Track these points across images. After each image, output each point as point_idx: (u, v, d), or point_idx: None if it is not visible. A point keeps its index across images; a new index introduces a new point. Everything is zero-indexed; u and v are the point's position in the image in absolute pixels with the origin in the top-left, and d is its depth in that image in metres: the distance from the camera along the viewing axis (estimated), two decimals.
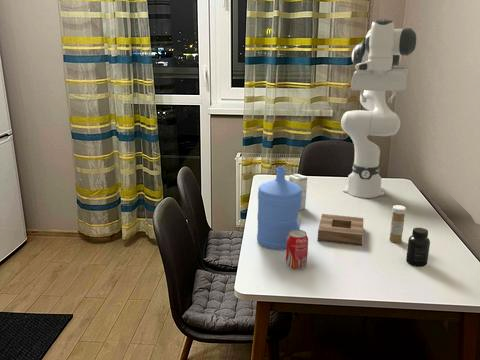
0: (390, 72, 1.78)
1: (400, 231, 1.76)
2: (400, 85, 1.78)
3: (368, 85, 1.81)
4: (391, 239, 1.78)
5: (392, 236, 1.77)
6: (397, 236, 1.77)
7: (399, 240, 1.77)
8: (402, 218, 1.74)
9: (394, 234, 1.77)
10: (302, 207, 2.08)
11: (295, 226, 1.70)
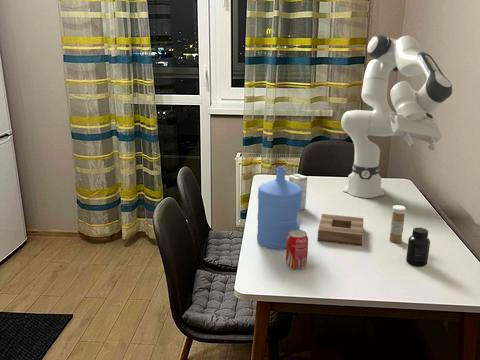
0: None
1: (400, 231, 1.76)
2: None
3: None
4: (391, 239, 1.78)
5: (392, 236, 1.77)
6: (397, 236, 1.77)
7: (399, 240, 1.77)
8: (402, 218, 1.74)
9: (394, 234, 1.77)
10: (302, 207, 2.08)
11: (295, 226, 1.70)
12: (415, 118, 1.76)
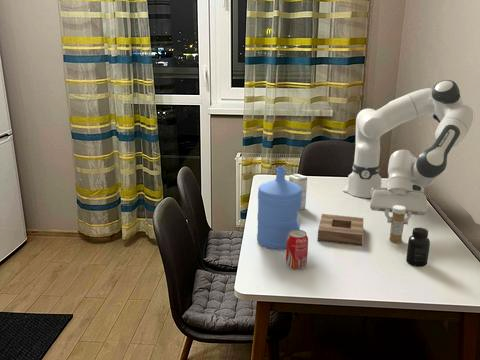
0: None
1: (400, 231, 1.76)
2: None
3: None
4: (391, 239, 1.78)
5: (392, 236, 1.77)
6: (398, 236, 1.77)
7: (399, 240, 1.77)
8: (402, 218, 1.74)
9: (394, 234, 1.77)
10: (302, 207, 2.08)
11: (295, 226, 1.70)
12: (395, 192, 1.79)
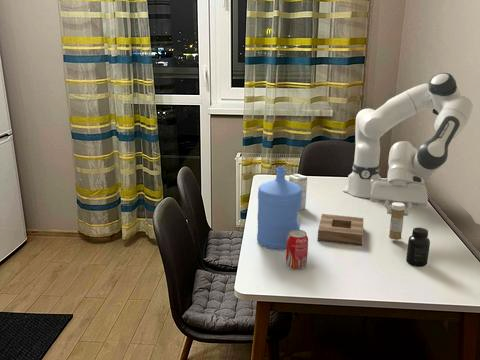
0: None
1: (399, 228, 1.75)
2: None
3: None
4: (390, 236, 1.78)
5: (391, 233, 1.77)
6: (397, 233, 1.76)
7: (398, 237, 1.77)
8: (401, 215, 1.74)
9: (393, 231, 1.76)
10: (302, 207, 2.08)
11: (295, 226, 1.70)
12: (395, 184, 1.78)
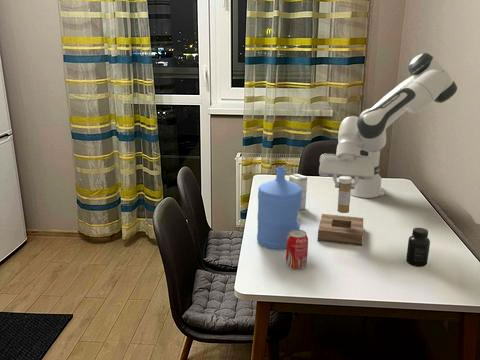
0: None
1: (346, 201, 1.77)
2: None
3: None
4: (338, 210, 1.80)
5: (339, 206, 1.79)
6: (344, 207, 1.78)
7: (346, 210, 1.79)
8: (348, 188, 1.76)
9: (341, 204, 1.78)
10: (302, 207, 2.08)
11: (295, 226, 1.70)
12: (343, 158, 1.80)
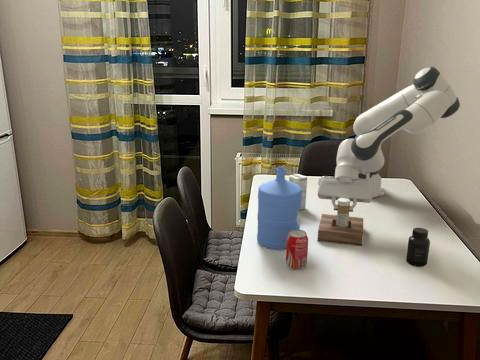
0: None
1: (345, 223, 1.80)
2: None
3: None
4: None
5: None
6: None
7: None
8: (346, 210, 1.78)
9: (340, 226, 1.81)
10: (302, 207, 2.08)
11: (295, 226, 1.70)
12: (341, 181, 1.83)
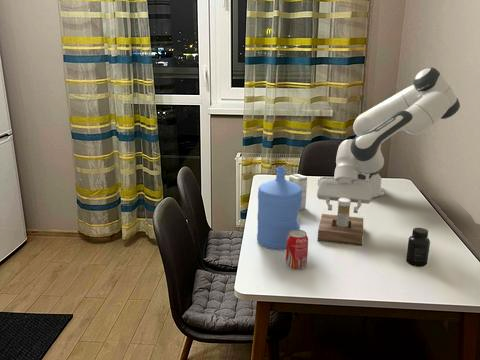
0: None
1: (345, 223, 1.80)
2: None
3: None
4: None
5: None
6: None
7: None
8: (347, 210, 1.78)
9: (340, 226, 1.81)
10: (302, 207, 2.08)
11: (295, 226, 1.70)
12: (341, 181, 1.83)
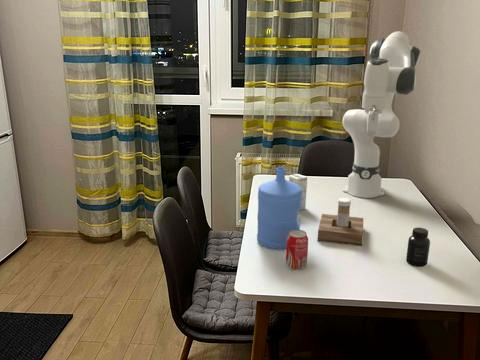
0: (368, 111, 1.78)
1: (345, 223, 1.80)
2: None
3: (367, 120, 1.87)
4: None
5: None
6: None
7: None
8: (347, 210, 1.78)
9: (340, 226, 1.81)
10: (302, 207, 2.08)
11: (295, 226, 1.70)
12: (381, 112, 1.80)
